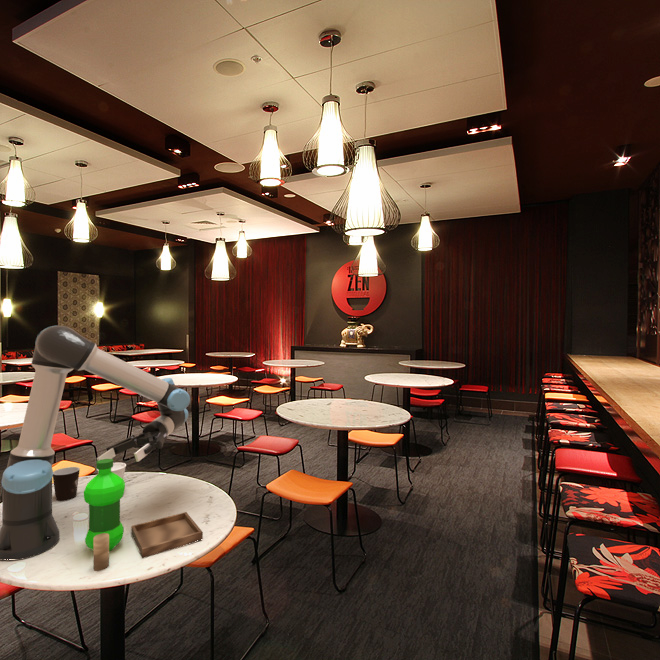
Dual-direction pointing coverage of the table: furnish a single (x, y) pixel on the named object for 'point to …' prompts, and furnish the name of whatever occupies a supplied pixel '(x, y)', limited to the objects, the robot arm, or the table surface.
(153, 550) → the tray
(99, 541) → the peg
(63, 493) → the coffee mug
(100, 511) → the plastic bottle
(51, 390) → the robot arm
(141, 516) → the table surface
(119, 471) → the cup
